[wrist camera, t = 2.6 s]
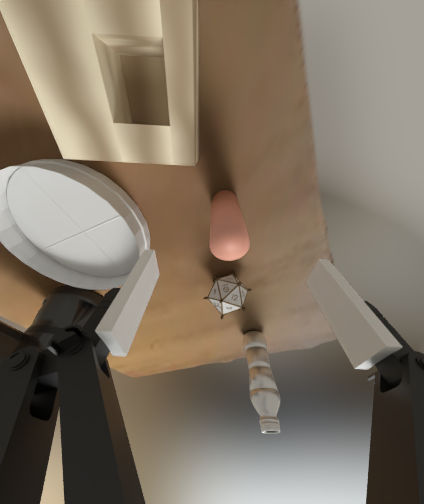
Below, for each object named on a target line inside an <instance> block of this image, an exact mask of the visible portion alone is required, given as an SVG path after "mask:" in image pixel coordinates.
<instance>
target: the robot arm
mask: <svg viewBox="0 0 424 504" xmlns="http://www.w3.org/2000/svg"><path fill="white" fill-rule="evenodd" d="M158 277H159V270H158V265H157V260H156V255H155V250H144V252H143V253H142V255H141V257H140V258H139V260H138V261H137V263H136V265H135V266H134V268H133V270H132V271H131V273H130V274H129V276H128V278H127V279H126V281H125V283H124V284H123V286H122V287H121V288H112V289H111V290H110V291H109V292H107V293H106V294H105V296H104V297H102V296H100V295H98V294H96V293H94V292H92V291H89V290H86V289H83V288H78V287H72V286H64V287H59V288H56V289H54V290H53V291H52V292H51V293H50V294H49V295H48V296H47V297H46V298H45V299H44V301H43V306H42V307H41V309H40V310H39V312H38V314H37V315H36V317H35V319H34V321H33V323H32V325H31V326H30V327H29V328H28V329H27V330H26V331H25V332H24V333H23V332H21V331H19V330H17V329H15V328H13V327H11V326H9V325H7V324H5V323H3V322H1V321H0V504H40V501H41V496H42V491H43V485H44V481H45V475H46V470H47V465H48V461H49V456H50V451H51V446H52V440H53V436H54V430H55V426H56V421H57V415H58V410H59V408H60V424H61V445H62V464H63V482H64V500H65V504H145V500H144V497H143V493H142V489H141V485H140V482H139V478H138V474H137V470H136V466H135V462H134V459H133V455H132V451H131V448H130V443H129V440H128V436H127V432H126V429H125V425H124V421H123V417H122V413H121V410H120V406H119V402H118V398H117V394H116V391H115V387H114V383H113V379H112V376H111V372H110V368H109V364H108V360H107V359H106V358H107V356H108V354H109V352H111V354H112V355H113V356H127V353H128V351H129V349H130V346H131V344H132V341H133V339H134V336H135V334H136V331H137V329H138V326H139V324H140V321H141V319H142V317H143V314H144V312H145V309H146V307H147V304H148V302H149V299H150V297H151V294H152V292H153V290H154V287H155V285H156V282H157V280H158ZM306 285H307V286H308V288H309V290H310V292H311V293H312V295H313V297H314V299H315V300H316V302H317V304H318V306H319V307H320V309H321V311H322V313H323V314H324V316H325V318H326V320H327V321H328V323H329V325H330V327H331V328H332V330H333V332H334V334H335V335H336V337H337V339H338V341H339V342H340V344H341V346H342V348H343V349H344V351H345V353H346V354H347V356H348V358H349V360H350V361H351V363H352V365H353V366H354V368H355V369H369V368H371V367H372V366H374V365H375V366H376V367H377V369H378V371H377V372H375V373H373V374H372V375H370V376H368V378H367V380H369V381H370V380H372V379H374V378H375V382H373V384H375V385H374V401H373V413H372V427H371V442H370V455H369V471H368V484H367V498H366V504H424V354H422V353H420V352H416V351H414V350H413V349H412V348H411V347H410V346H409V345H408V344H407V343H406V342H405V340H404V339H403V338H402V337H401V336H400V335H399V334H398V332H397V331H396V330H395V329H394V328H393V327H392V326H391V325H390V324H389V323H388V321H387V320H386V319H385V318H384V317H383V315H382V314H381V313H380V312H379V311H378V310H377V309H376V308H375V307H374V306H372V305H371V304H370V303H369V302H367V301H363V300H362V299H361V297H359V295H358V294H357V293H356V292H355V290H354V289H353V288H352V287H351V286H350V284H348V282H347V281H346V280H345V279H344V278H343V276H342V275H341V274H340V273H339V272H338V270H337V269H336V268H335V267H334V266H333V264H332V263H331V262H330V261H329V260H328V259H318V261H317V263H316V265H315V267H314V268H313V270H312V272H311V274H310V276H309V278H308V279H307V281H306Z"/></svg>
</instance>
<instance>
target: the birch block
mask: <svg viewBox="0 0 424 504" xmlns="http://www.w3.org/2000/svg"><path fill="white" fill-rule="evenodd" d="M0 11H1V13H2V16H3V18H4V20H5V23H6V25H7V27H8V30H9V32H10V34H11V37H12V39H13V41H14V44H15V46H16V48H17V51H18V53H19V56H20V58H21V60H22V63H23V65H24V67H25V70H26V72H27V74H28V77H29V79H30V81H31V84H32V86H33V88H34V91H35V93H36V95H37V98H38V100H39V102H40V105H41V107H42V110H43V112H44V114H45V117H46V119H47V121H48V124H49V126H50V128H51V131H52V133H53V135H54V138H55V140H56V142H57V145H58V147H59V149H60V152H61V154H62V156H63V159H75V160H94V161H113V162H131V163H150V164H168V165H187V166H195V165H196V163H197V162H198V160H199V6H198V0H0Z"/></svg>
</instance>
